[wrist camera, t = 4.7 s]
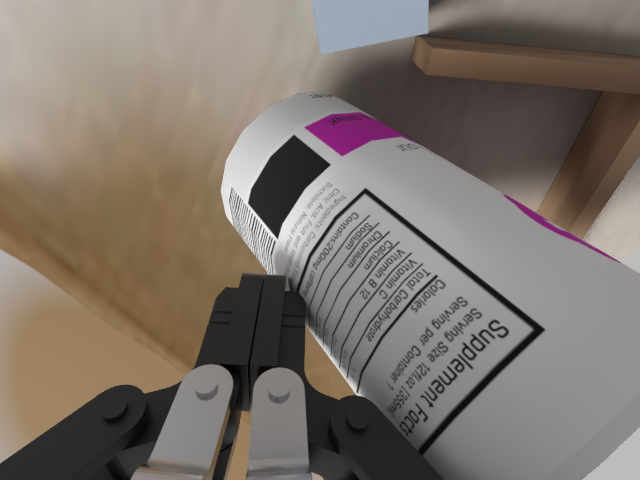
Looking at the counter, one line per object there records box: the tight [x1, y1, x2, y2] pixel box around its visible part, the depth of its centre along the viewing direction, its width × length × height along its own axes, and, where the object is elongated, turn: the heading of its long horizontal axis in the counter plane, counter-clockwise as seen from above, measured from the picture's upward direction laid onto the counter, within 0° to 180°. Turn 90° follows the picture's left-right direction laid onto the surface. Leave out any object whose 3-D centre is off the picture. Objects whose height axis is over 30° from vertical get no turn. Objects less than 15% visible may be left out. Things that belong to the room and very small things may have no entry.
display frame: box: [411, 36, 640, 239], centre depth 19 cm, size 12×11×3 cm
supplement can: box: [221, 92, 640, 480], centre depth 14 cm, size 8×8×15 cm
